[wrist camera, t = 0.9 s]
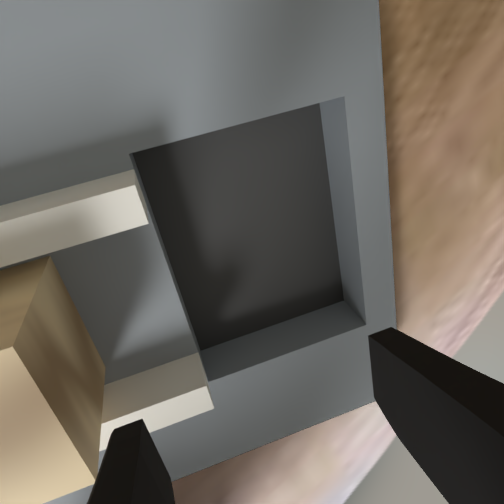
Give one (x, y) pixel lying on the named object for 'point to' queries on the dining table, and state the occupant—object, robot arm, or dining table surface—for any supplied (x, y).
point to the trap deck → (205, 206)
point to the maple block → (46, 388)
